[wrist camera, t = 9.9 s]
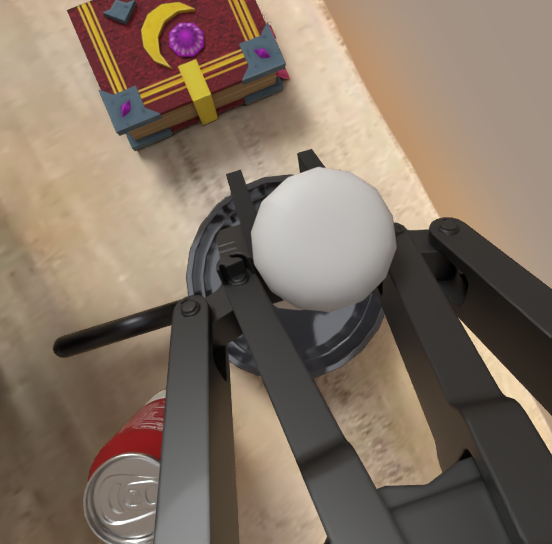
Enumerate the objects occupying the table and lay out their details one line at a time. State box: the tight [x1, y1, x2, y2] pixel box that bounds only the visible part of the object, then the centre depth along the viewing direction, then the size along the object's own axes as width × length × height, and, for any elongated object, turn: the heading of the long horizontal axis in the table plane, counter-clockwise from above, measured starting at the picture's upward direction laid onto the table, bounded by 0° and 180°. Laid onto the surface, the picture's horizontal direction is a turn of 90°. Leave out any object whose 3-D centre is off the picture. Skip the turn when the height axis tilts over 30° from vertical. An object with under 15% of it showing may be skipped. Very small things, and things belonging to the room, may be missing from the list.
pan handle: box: [53, 299, 182, 358], centre depth 30 cm, size 13×2×2 cm, turn 107°
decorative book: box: [67, 0, 290, 151], centre depth 31 cm, size 11×16×5 cm
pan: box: [186, 174, 385, 378], centre depth 31 cm, size 17×17×4 cm
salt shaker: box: [251, 167, 397, 312], centre depth 16 cm, size 6×6×13 cm
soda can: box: [83, 389, 166, 544], centre depth 27 cm, size 7×7×12 cm
